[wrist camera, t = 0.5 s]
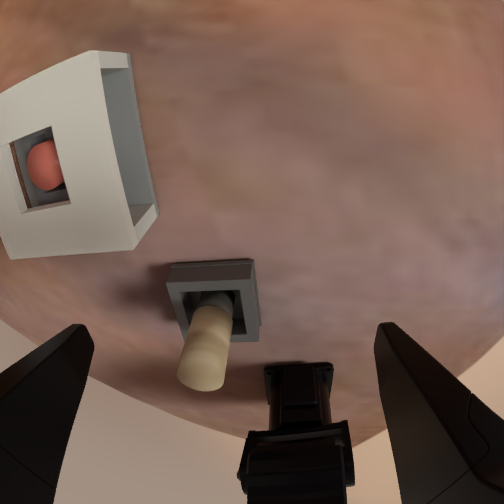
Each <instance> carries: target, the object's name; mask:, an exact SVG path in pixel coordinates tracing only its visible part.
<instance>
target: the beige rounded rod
mask: <svg viewBox="0 0 504 504" xmlns="http://www.w3.org/2000/svg"><path fill="white" fill-rule="evenodd" d="M234 303H235V297H234V294H233V293H232V291H231V290H217V291H202V292H201V295H200V299H199V302H198V305H197V309H196V311H195V312H194V314H193V317H192V320H191V324H190V327H189V331H188V334H187V337H186V341H185V344H184V348H183V351H182V355H181V358H180V362H179V365H178V369H177V377H178V379H179V380H180V381H181V382H182V383H183V384H184V385H186V386H187V387H189V388H192V389H195V390H199V391H214V390H217V389H219V388H220V387H221V386H222V385H223V383H224V377H225V371H226V364H227V358H228V351H229V344H230V338H231V331H232V325H233V320H232V316H233V309H234Z"/></svg>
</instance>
